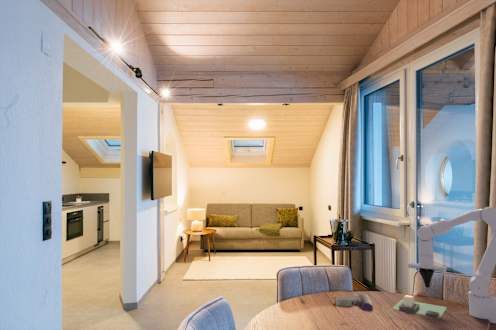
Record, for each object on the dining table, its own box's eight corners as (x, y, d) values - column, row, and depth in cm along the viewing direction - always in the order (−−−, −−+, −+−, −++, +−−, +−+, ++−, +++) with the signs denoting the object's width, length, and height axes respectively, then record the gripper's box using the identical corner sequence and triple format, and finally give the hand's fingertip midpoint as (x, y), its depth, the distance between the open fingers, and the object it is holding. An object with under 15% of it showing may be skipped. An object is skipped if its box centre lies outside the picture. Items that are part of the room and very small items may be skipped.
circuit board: (447, 309, 145) (446, 305, 145) (440, 320, 132) (439, 315, 133) (402, 301, 156) (401, 297, 156) (391, 310, 144) (391, 306, 144)
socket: (419, 308, 144) (419, 304, 144) (415, 312, 138) (414, 309, 138) (404, 305, 148) (403, 301, 148) (399, 309, 142) (399, 306, 142)
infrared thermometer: (335, 305, 155) (369, 304, 153) (337, 314, 143) (375, 313, 141) (334, 294, 156) (368, 293, 154) (336, 303, 144) (373, 302, 142)
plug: (414, 308, 144) (413, 295, 144) (411, 311, 140) (411, 298, 141) (406, 306, 146) (406, 294, 146) (403, 309, 142) (403, 296, 143)
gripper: (405, 254, 148) (407, 286, 147) (443, 257, 139) (445, 292, 138) (409, 252, 154) (411, 282, 153) (446, 255, 145) (448, 288, 144)
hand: (427, 287), depth 146 cm, fingers closed
